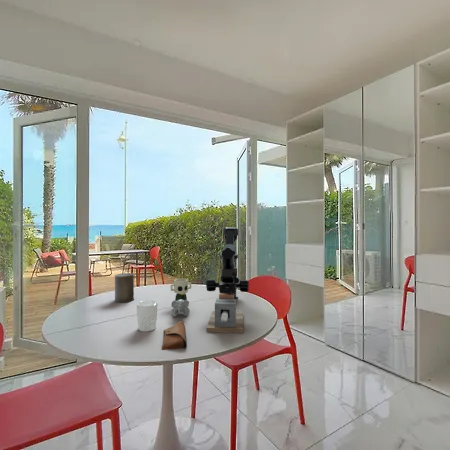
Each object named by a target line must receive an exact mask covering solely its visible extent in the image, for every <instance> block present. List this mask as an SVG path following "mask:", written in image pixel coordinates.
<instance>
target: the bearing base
mask: <svg viewBox="0 0 450 450" xmlns="http://www.w3.org/2000/svg"><path fill="white" fill-rule="evenodd" d="M222 309H223V310H229V313H228V318H227V322H226V323H222V322H221V315H222ZM205 328H206V331H205V332H206V333H207V332H208V333H231V332H233V334H234V333H236V334H237V333H238V334H241V333H242V334H244V311H237V298H236V299H219V298H216V299H215V302H214V310H212V311H211V314H210V317H209V320H208V323H207V325H206V327H205Z"/></svg>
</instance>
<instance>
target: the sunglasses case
mask: <svg viewBox="0 0 450 450" xmlns="http://www.w3.org/2000/svg"><path fill="white" fill-rule="evenodd" d="M187 340H188V338H187V332H186V325H185V323H184V321H183V320H180V321H178V322H177V323H175V324H174V325H172V326H170V327H167V328H165V329H163V341H162V345H161V350H162V351H168V350H179V349H180V350H183V349H184V350H186V348H187V347H188V343H187Z"/></svg>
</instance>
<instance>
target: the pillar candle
mask: <svg viewBox="0 0 450 450" xmlns="http://www.w3.org/2000/svg"><path fill="white" fill-rule="evenodd" d="M134 276H135V274H134V273H131V272H130V273H129V272H124V273H123V272H122V273H117V274H115V275H114V302H116V303H128V302H132V301H134V300H135V299H134V298H135V297H134V296H135V291H134V290H135V289H134V288H135V282H134V279H135V277H134Z"/></svg>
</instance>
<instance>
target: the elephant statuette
mask: <svg viewBox="0 0 450 450" xmlns="http://www.w3.org/2000/svg"><path fill="white" fill-rule="evenodd" d="M189 305H190V301H189V300H188V299H187V300H185V301H184V300H182V299H180V300H178V301H175V299H174V300H172V302H171V307H172V308H173V309H172V314H171V315H172V318H173V317H174V318H176V317H177V315H178V314H179V315H180V314H181V312H182V313H183V316H184V317H188V316H189V315H190V314H189V313H190V309H189Z"/></svg>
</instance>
